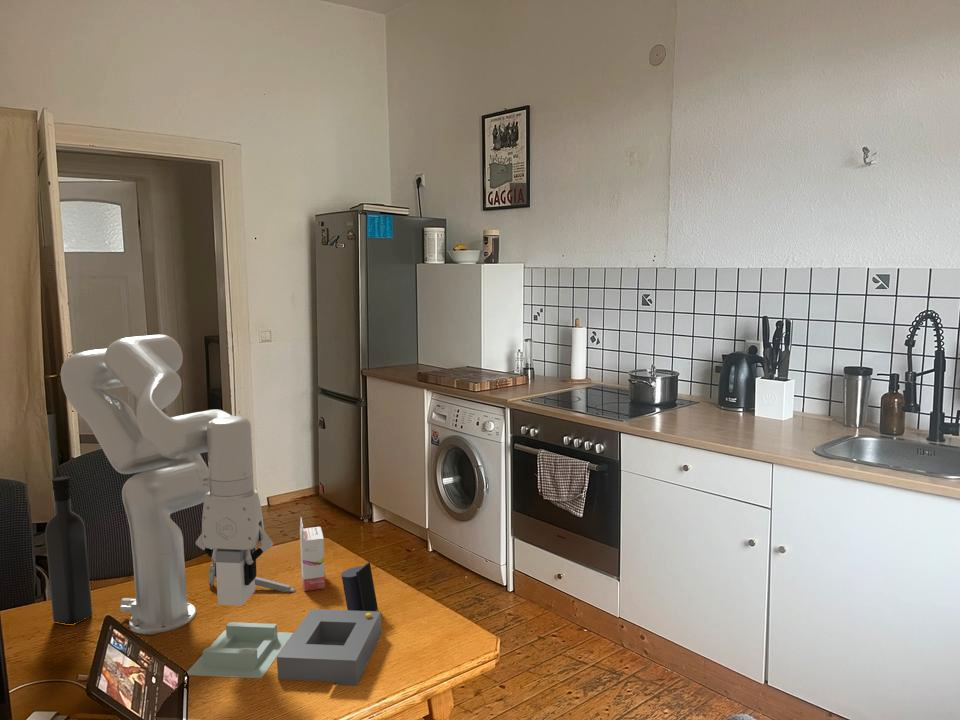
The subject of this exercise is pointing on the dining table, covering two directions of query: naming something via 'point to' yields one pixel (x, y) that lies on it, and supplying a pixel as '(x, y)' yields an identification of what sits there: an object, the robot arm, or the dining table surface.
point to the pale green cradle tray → (241, 651)
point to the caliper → (256, 582)
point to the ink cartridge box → (312, 558)
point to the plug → (232, 578)
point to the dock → (330, 646)
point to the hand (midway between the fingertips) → (236, 580)
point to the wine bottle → (67, 559)
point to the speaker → (359, 589)
